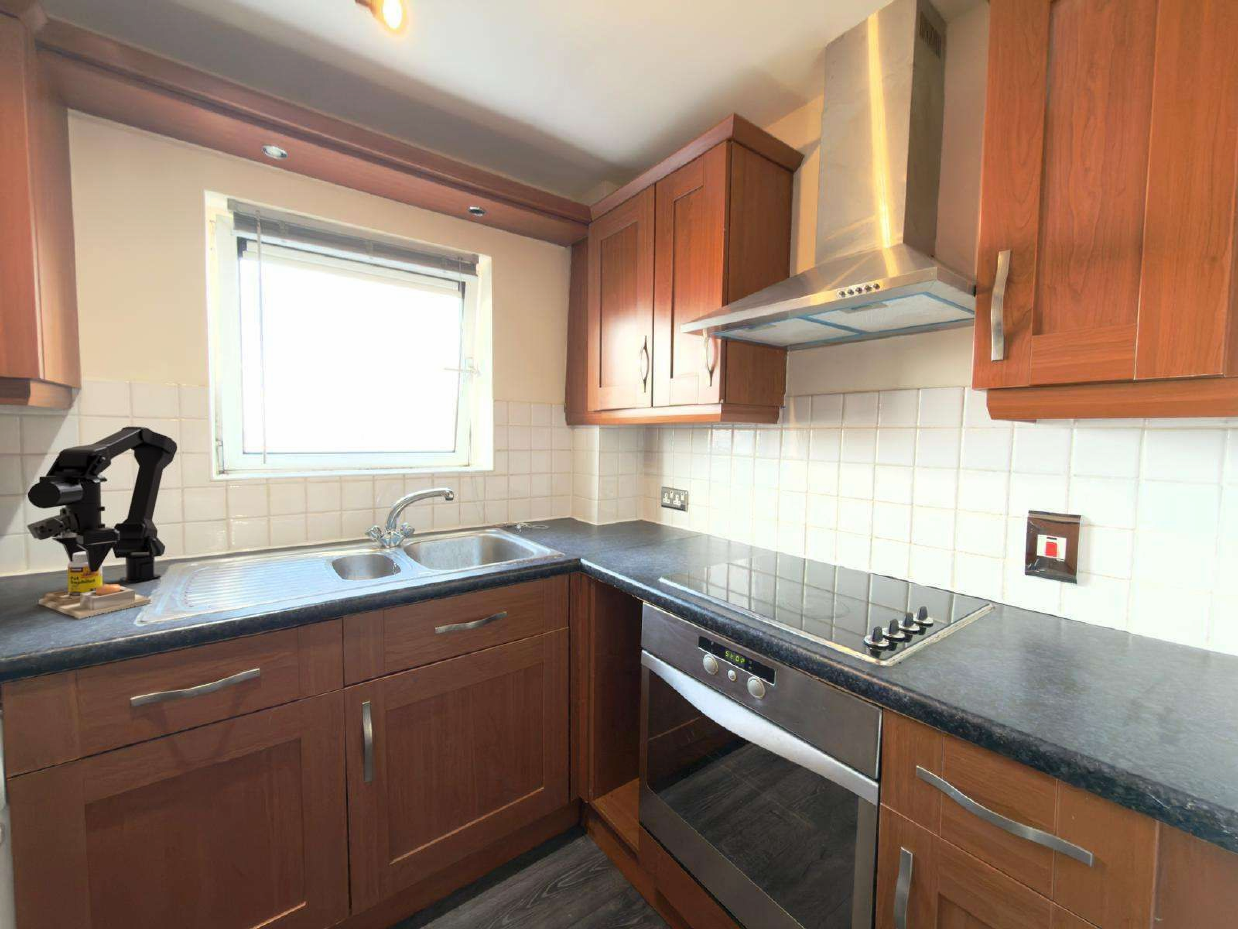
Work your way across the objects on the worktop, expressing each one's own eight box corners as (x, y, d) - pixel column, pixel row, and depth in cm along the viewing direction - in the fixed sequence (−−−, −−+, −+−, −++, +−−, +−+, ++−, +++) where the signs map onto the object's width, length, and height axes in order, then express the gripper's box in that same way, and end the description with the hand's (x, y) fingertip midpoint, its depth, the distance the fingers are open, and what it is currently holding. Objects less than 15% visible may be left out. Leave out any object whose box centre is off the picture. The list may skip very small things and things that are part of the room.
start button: (92, 596, 113) (92, 587, 113) (115, 592, 117) (114, 583, 117) (100, 599, 112) (100, 590, 112) (123, 594, 115) (123, 585, 115)
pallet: (39, 603, 116) (38, 588, 115) (109, 590, 126) (108, 576, 126) (79, 618, 107) (79, 602, 107) (150, 603, 118) (150, 587, 118)
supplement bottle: (64, 601, 115) (63, 556, 114) (72, 594, 120) (71, 551, 119) (98, 597, 118) (98, 553, 118) (105, 590, 123) (104, 549, 122)
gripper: (15, 503, 114) (16, 571, 115) (51, 509, 107) (52, 583, 107) (83, 498, 124) (84, 561, 125) (120, 504, 117) (121, 571, 117)
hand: (84, 569), depth 118 cm, fingers open, 9 cm apart
